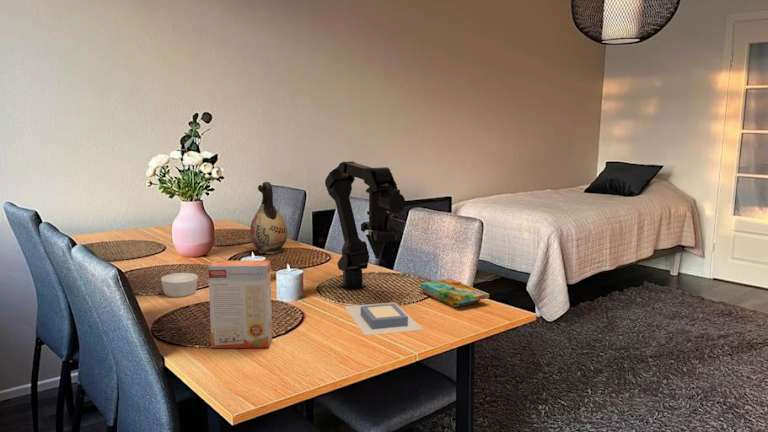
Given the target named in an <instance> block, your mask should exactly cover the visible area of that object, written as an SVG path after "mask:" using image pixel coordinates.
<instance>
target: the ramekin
mask: <svg viewBox="0 0 768 432" xmlns="http://www.w3.org/2000/svg"><path fill="white" fill-rule="evenodd" d="M198 280H199V276H198V275H197V274H196V273H193V272H177V273H176V272H175V273H174V272H173V273H170V274H166V275H163V276H162V277H161V278H160V282H161V286H162V290H163V294H164V295H165V296H167V297H171V298H182V297H188V296H189V297H190V296H191V295H193V294H195V293H196V291H197V287H198V286H197V285H198Z"/></svg>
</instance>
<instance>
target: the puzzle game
mask: <svg viewBox="0 0 768 432" xmlns="http://www.w3.org/2000/svg"><path fill="white" fill-rule="evenodd" d="M419 288H420V290H421V291H422V293H424V294H425V295H426V296H429V297H430V298H432V299H435V300H437V301H440V302H442V303H445V304H447V305H449V306H451V307H453V308H455V307H456V308H457V307H461V306H464V305H465V306H466V305H471V304H475V303H478V302H480V300H487V299H490V294H489V293H488V292H485V291H483V290H480V289H478V288H475V287H474V286H470V285H468V284H465V283H462V282H461V281H458V280H455V279H452V278H445V279H438V280H433V281H426V282H421V283H419Z"/></svg>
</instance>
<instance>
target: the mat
mask: <svg viewBox="0 0 768 432" xmlns="http://www.w3.org/2000/svg"><path fill="white" fill-rule="evenodd" d="M385 304H395V305H396V306H397V307H398V308H399V309H400V310H401V311H402V312H403V313H404V314H405V315H406V316H407V317H408V326H400V327H389V328H379V329H372V328H371V327H370V326H369V324H368V323H367V322H366V321H365V319H364V318H363V317H362V316H361V306H373V305H385ZM343 308H344V309H345V310H346V311H347V313H348V314H349V315H350V317H351V319H352V320H353V321H354V322H355V324H356V325H357V327H359V329H360V331H361V332H362V333H363V334H364V335H365V336H371V335H380V334H381V335H382V334H389V333H390V334H391V333H401V332H403V333H404V332H411V331H413V332H414V331H421V330H424V328H422V327H421V326H420V325H419V324H418V323H417V322H416V321H415V320H414V319H413V317H411V316H410V315H409V314H408V313H407V312H406V311H405V310H403V308H402V307H401V306H399V304H397V302H396V301H392V302H391V301H390V302H379V303H369V304H368V303H367V304H357V305H356V304H354V305H345V306H343Z"/></svg>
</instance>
